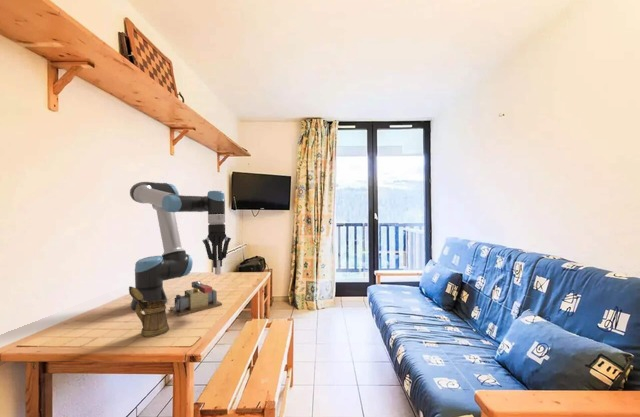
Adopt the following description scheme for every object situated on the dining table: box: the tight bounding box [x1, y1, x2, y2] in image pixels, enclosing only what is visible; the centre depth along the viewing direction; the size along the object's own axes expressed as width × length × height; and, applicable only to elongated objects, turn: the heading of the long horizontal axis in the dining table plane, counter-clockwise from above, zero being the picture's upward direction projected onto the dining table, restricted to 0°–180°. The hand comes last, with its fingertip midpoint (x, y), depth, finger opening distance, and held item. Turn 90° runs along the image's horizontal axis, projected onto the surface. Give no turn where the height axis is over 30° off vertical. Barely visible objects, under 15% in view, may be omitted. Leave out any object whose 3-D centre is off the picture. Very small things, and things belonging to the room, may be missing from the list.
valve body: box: [169, 288, 223, 317], centre depth 132 cm, size 12×20×10 cm, turn 134°
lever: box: [191, 280, 213, 294], centre depth 128 cm, size 16×4×2 cm, turn 44°
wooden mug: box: [128, 286, 170, 338], centre depth 106 cm, size 9×14×18 cm, turn 102°
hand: (217, 274), depth 129 cm, fingers closed
